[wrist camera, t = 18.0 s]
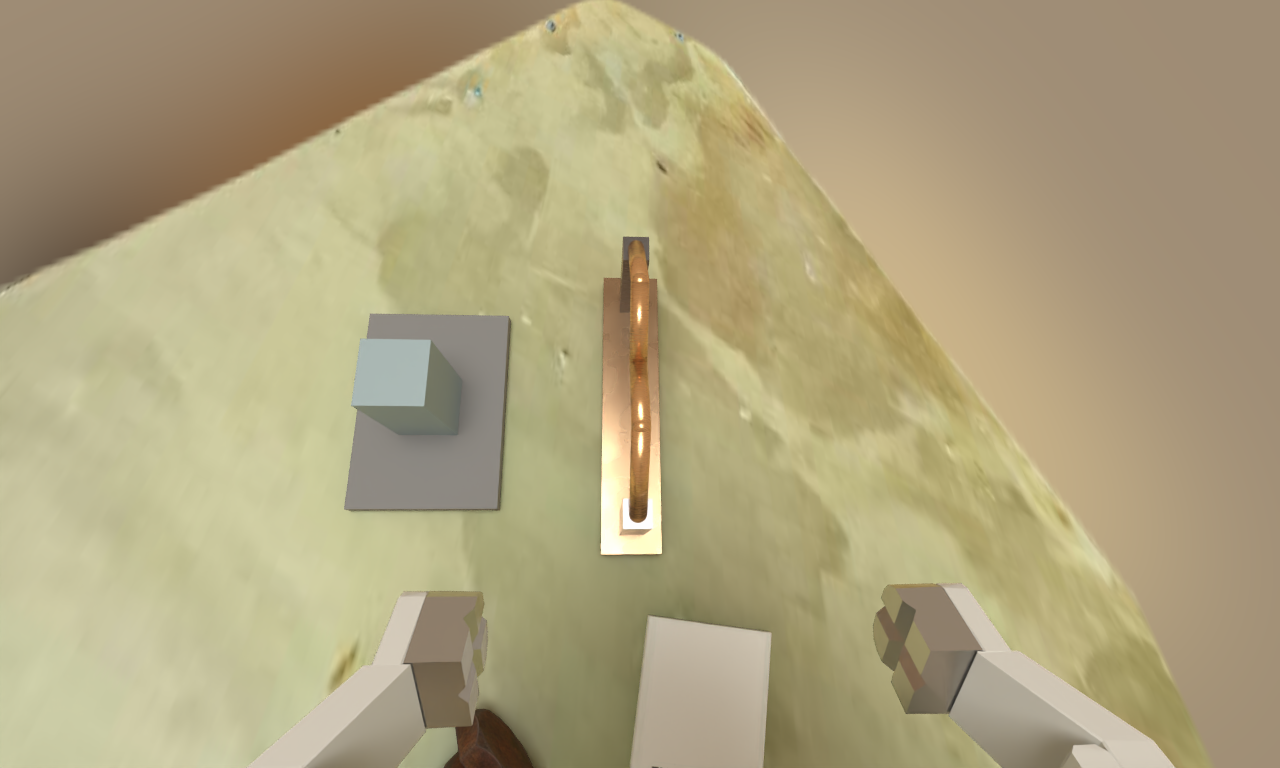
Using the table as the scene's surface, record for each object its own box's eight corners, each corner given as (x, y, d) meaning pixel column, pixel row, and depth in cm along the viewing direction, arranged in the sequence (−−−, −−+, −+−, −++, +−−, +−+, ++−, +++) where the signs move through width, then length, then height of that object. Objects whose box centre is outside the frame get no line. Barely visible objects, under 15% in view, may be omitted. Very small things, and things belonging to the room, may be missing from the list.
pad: (499, 509, 41) (497, 508, 40) (350, 510, 40) (344, 509, 39) (510, 321, 45) (508, 315, 44) (375, 319, 44) (370, 313, 43)
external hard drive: (766, 630, 40) (752, 846, 36) (646, 613, 40) (620, 828, 36) (773, 632, 39) (759, 858, 35) (648, 615, 38) (621, 840, 35)
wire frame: (659, 554, 41) (685, 550, 28) (601, 554, 40) (599, 551, 27) (655, 287, 46) (674, 181, 33) (603, 286, 46) (604, 179, 33)
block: (457, 435, 41) (424, 406, 33) (398, 434, 41) (351, 405, 33) (462, 380, 42) (431, 339, 35) (404, 379, 42) (360, 338, 34)
